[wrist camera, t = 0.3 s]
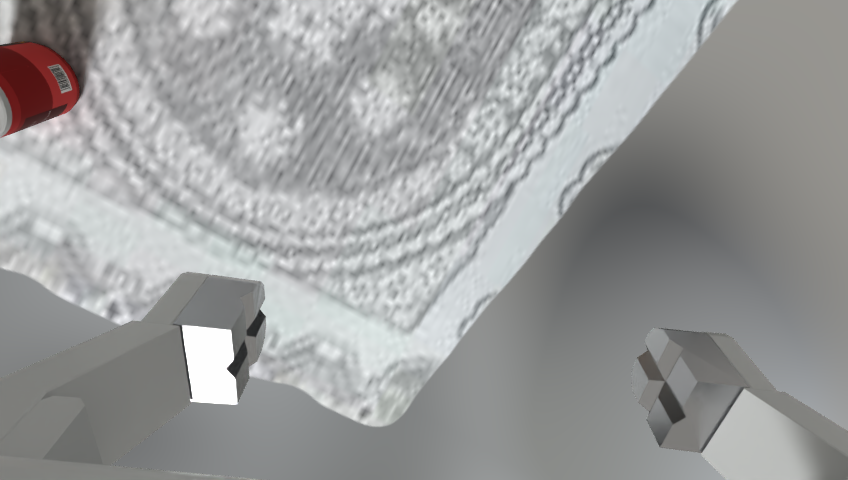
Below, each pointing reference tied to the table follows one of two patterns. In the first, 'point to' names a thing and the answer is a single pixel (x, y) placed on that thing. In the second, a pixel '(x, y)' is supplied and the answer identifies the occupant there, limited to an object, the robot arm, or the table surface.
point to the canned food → (33, 86)
